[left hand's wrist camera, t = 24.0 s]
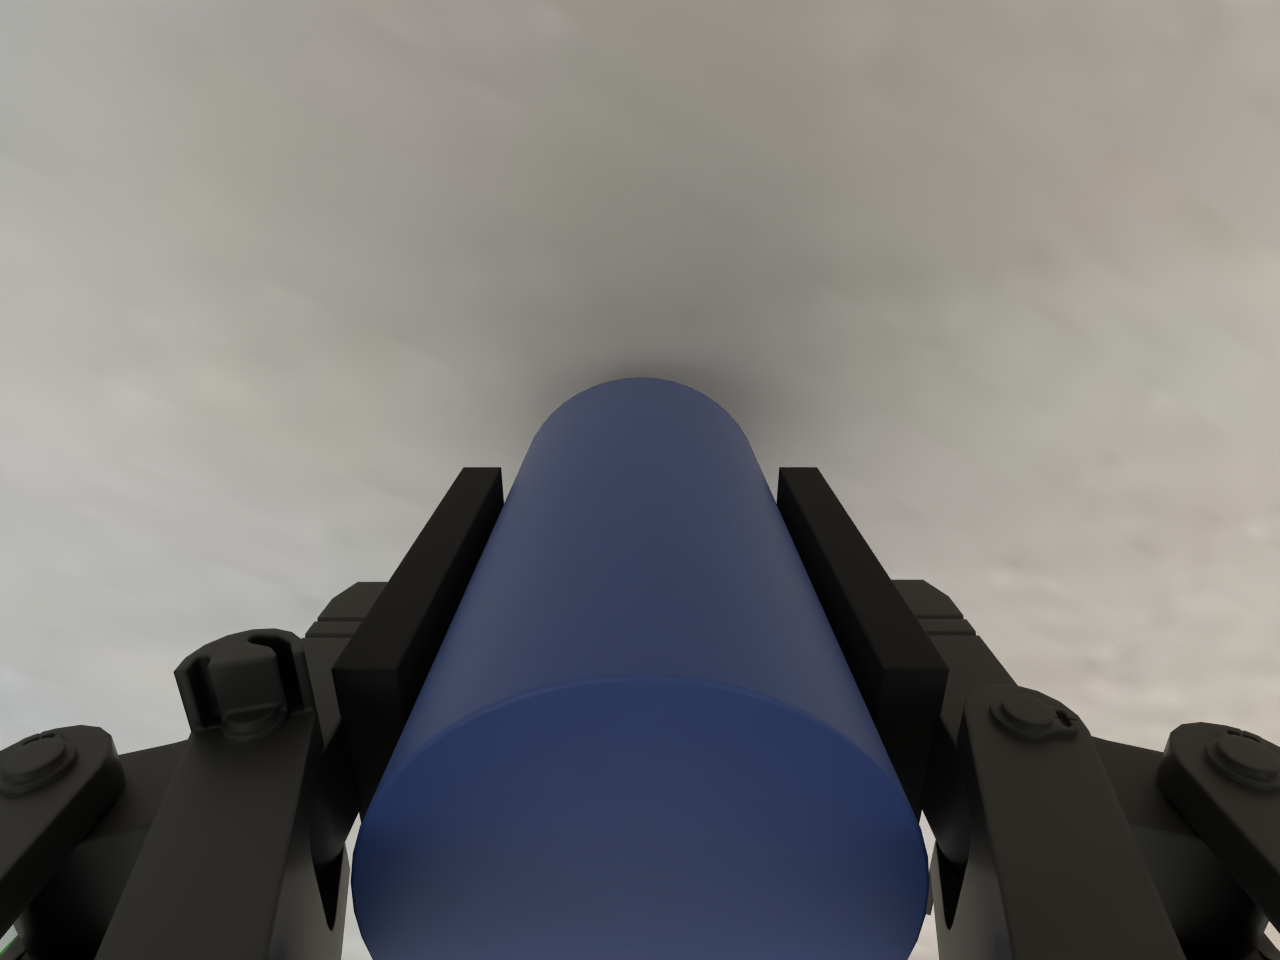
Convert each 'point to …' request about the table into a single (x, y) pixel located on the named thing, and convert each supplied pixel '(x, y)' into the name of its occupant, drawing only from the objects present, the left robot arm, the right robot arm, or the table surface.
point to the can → (640, 726)
